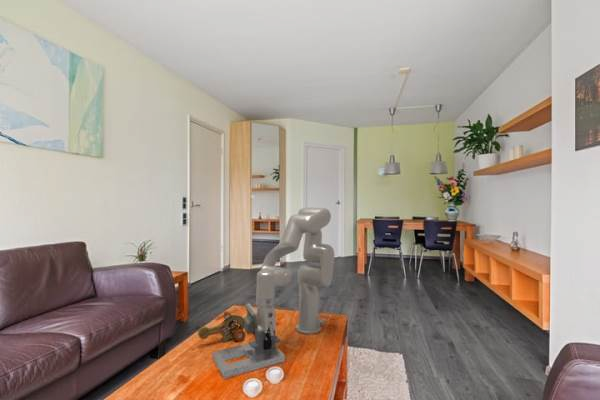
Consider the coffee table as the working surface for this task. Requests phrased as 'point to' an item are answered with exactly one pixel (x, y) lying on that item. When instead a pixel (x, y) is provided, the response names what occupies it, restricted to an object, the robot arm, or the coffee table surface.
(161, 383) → the coffee table surface
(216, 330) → the toy helicopter
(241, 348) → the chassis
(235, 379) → the coffee table surface
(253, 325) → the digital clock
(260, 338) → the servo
